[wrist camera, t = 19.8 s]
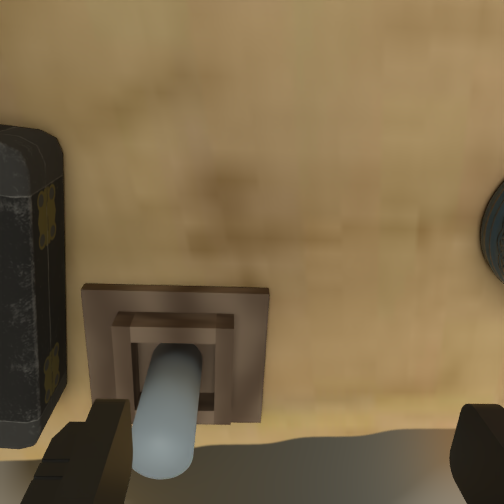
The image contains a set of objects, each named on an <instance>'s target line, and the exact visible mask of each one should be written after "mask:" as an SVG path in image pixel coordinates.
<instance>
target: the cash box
mask: <svg viewBox="0 0 504 504" xmlns="http://www.w3.org/2000/svg"><path fill="white" fill-rule="evenodd" d="M66 384H67V372H66V309H65V251H64V193H63V153H62V150H61V148H60V146H59V143H58V141H57V139H56V138H55V137H53V136H51V135H49V134H47V133H46V132H44V131H42V130H39V129H31V128H23V127H16V126H8V125H0V448H10V449H22V448H26V447H31V446H34V445H35V444H36V442H37V440H38V439H39V437H40V435H41V433H42V431H43V429H44V427H45V425H46V423H47V421H48V419H49V417H50V416H51V414H52V412H53V410H54V408H55V406H56V404H57V402H58V400H59V398H60V396H61V394H62V392H63V391H64V389H65V387H66Z"/></svg>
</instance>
